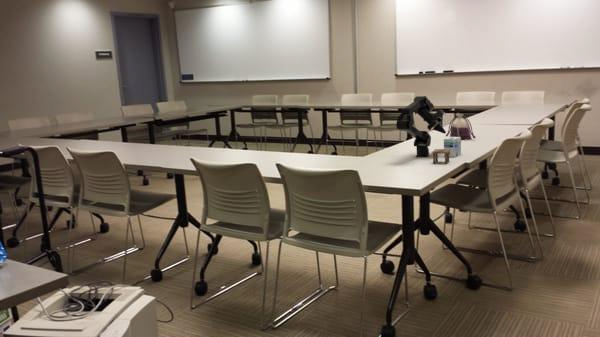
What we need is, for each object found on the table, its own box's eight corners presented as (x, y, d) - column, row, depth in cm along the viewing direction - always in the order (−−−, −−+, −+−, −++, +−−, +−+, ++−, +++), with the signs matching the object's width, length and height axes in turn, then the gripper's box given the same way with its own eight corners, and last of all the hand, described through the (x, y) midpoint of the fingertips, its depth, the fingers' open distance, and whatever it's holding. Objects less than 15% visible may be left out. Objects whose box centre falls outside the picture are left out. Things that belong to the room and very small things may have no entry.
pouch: (441, 139, 378) (441, 113, 374) (447, 137, 383) (447, 111, 380) (474, 141, 360) (473, 113, 356) (479, 139, 366) (479, 112, 362)
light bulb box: (454, 157, 306) (454, 139, 304) (443, 157, 310) (443, 139, 308) (461, 154, 314) (461, 136, 312) (450, 154, 318) (450, 136, 316)
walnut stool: (432, 163, 292) (432, 151, 291) (435, 161, 299) (435, 149, 298) (447, 164, 288) (447, 151, 287) (449, 161, 296) (449, 149, 294)
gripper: (432, 107, 302) (452, 125, 300) (438, 103, 319) (457, 121, 316) (419, 120, 307) (438, 139, 305) (426, 116, 324) (444, 134, 321)
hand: (445, 133), depth 311 cm, fingers closed
